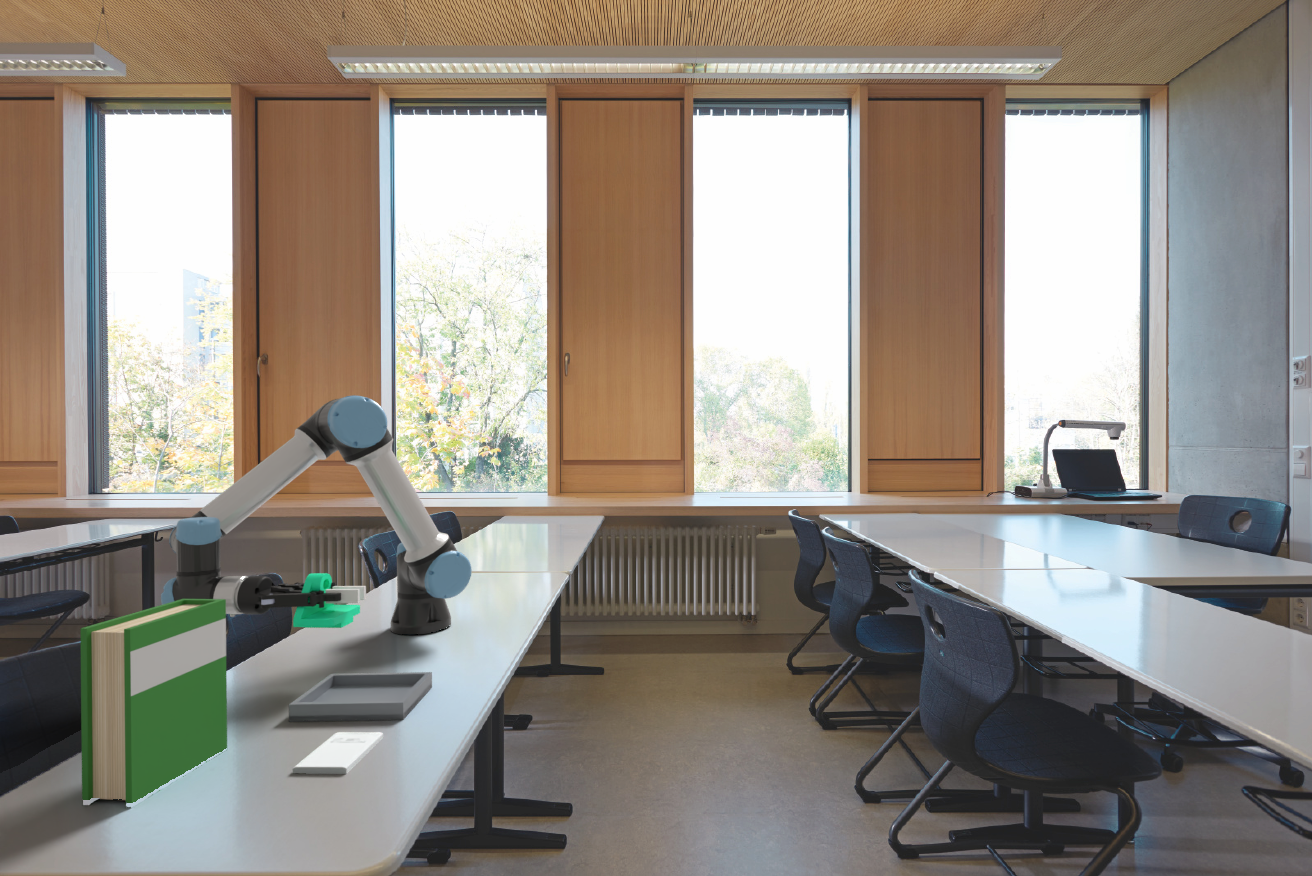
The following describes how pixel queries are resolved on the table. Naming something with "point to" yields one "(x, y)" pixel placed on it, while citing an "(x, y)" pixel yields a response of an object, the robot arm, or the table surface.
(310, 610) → the green mounting bracket
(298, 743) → the table surface
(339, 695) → the tray
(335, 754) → the external hard drive
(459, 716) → the table surface
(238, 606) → the robot arm
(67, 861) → the table surface
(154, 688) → the hardback book
